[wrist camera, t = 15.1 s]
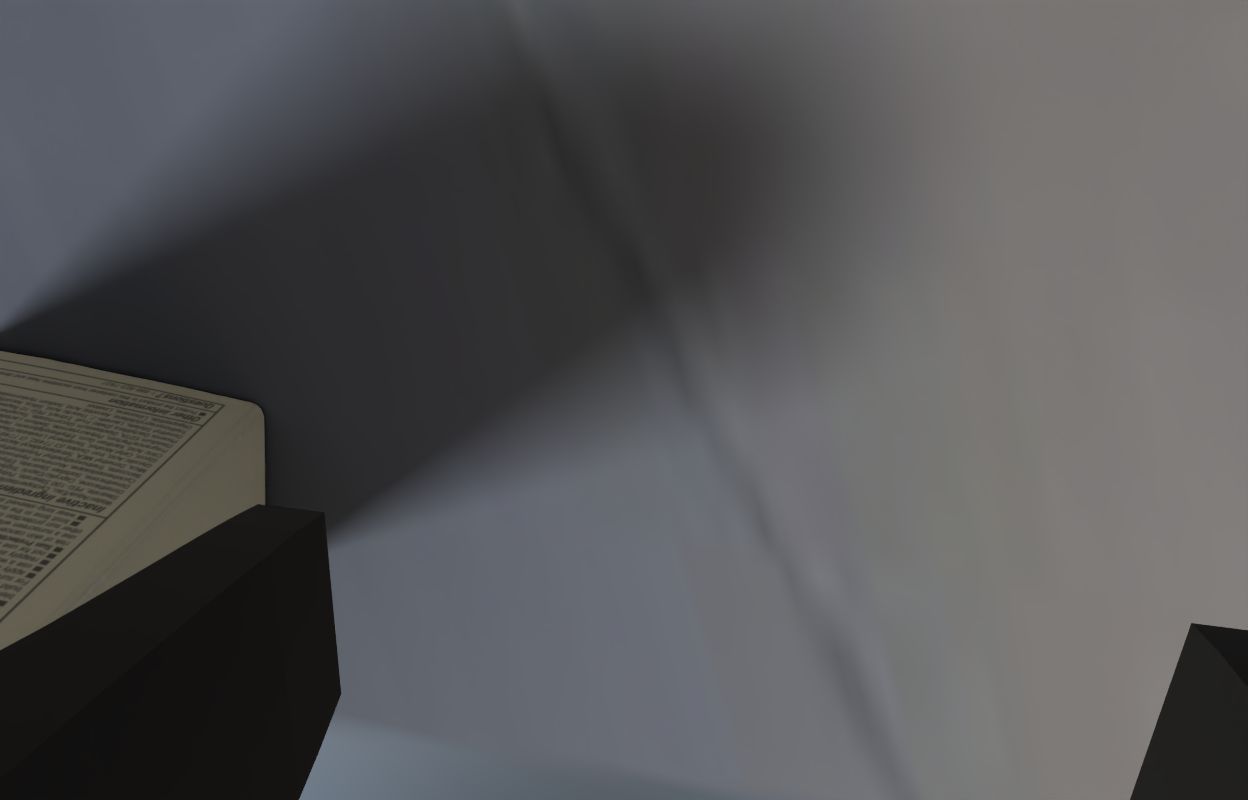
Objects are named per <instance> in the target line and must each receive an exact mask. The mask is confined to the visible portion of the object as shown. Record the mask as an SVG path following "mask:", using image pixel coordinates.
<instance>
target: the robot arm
mask: <svg viewBox="0 0 1248 800" xmlns="http://www.w3.org/2000/svg"><path fill="white" fill-rule="evenodd" d="M340 695H341V687H340V677H339V666H338V655H337V645H336V634H335V623H334V612H333V602H332V591H331V580H330V570H329V559H328V548H327V537H326V527H325V516H324V512H316V511H308V510H300V509H293V508H285V507H277V506H269V505H261V504H257V505H255V506H253V507H251V508H249V509H247V510H245V511H243V512H241V513H239V514H237V515H236V516H234V517H232V518H230V519H228V520H226V521H225V522H223V523H221V524H219V525H217V526H216V527H214V528H212V529H210V530H209V531H207V532H205V533H203V534H202V535H200V536H198V537H197V538H195V539H193V540H191V541H190V542H188V543H186V544H185V545H183V546H181V547H180V548H178V549H176V550H174V551H173V552H171V553H169V554H168V555H166V556H164V557H163V558H161V559H159V560H158V561H156V562H154V563H152V564H151V565H149V566H147V567H146V568H144V569H142V570H141V571H139V572H137V573H136V574H134V575H132V576H130V577H129V578H127V579H125V580H124V581H122V582H120V583H118V584H117V585H115V586H113V587H111V588H110V589H108V590H106V591H105V592H103V593H101V594H99V595H98V596H96V597H94V598H93V599H91V600H89V601H87V602H86V603H84V604H82V605H80V606H79V607H77V608H75V609H74V610H72V611H70V612H68V613H67V614H65V615H63V616H62V617H60V618H58V619H56V620H55V621H53V622H51V623H49V624H48V625H46V626H44V627H42V628H41V629H39V630H37V631H35V632H33V633H31V634H29V635H28V636H26V637H24V638H22V639H20V640H18V641H16V642H14V643H13V644H11V645H9V646H7V647H5V648H3V649H1V650H0V800H299V798H300V796H301V793H302V791H303V788H304V786H305V784H306V781H307V779H308V776H309V774H310V772H311V769H312V767H313V764H314V762H315V760H316V757H317V755H318V752H319V750H320V747H321V745H322V742H323V740H324V737H325V734H326V732H327V729H328V727H329V724H330V721H331V719H332V716H333V714H334V711H335V708H336V706H337V703H338V701H339V698H340ZM1130 800H1248V630H1241V629H1233V628H1225V627H1217V626H1209V625H1201V624H1194V623H1191V626H1190V629H1189V632H1188V635H1187V638H1186V640H1185V643H1184V646H1183V649H1182V652H1181V655H1180V658H1179V661H1178V663H1177V666H1176V669H1175V672H1174V675H1173V678H1172V681H1171V684H1170V686H1169V689H1168V692H1167V695H1166V698H1165V701H1164V704H1163V707H1162V709H1161V712H1160V715H1159V718H1158V721H1157V724H1156V727H1155V730H1154V732H1153V735H1152V738H1151V741H1150V744H1149V747H1148V750H1147V753H1146V756H1145V758H1144V761H1143V764H1142V767H1141V770H1140V773H1139V776H1138V779H1137V781H1136V784H1135V787H1134V790H1133V793H1132V796H1131V799H1130Z"/></svg>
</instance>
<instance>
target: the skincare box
mask: <svg viewBox="0 0 1248 800" xmlns="http://www.w3.org/2000/svg"><path fill="white" fill-rule="evenodd" d="M257 504H261V505H265V435H264V415H263V412H262V410H261V408H260V407H259V406H258V405H256V404H254V403H251V402H247V401H241V400H237V399H233V398H229V397H225V396H220V395H215V394H211V393H207V392H203V391H198V390H194V389H189V388H185V387H180V386H175V385H170V384H165V383H161V382H157V381H152V380H147V379H142V378H136V377H131V376H126V375H121V374H116V373H111V372H107V371H102V370H98V369H93V368H88V367H84V366H79V365H75V364H69V363H64V362H59V361H55V360H50V359H45V358H39V357H33V356H27V355H20V354H15V353H9V352H4V351H0V650H1V649H3V648H5V647H7V646H9V645H11V644H13V643H14V642H16V641H18V640H20V639H22V638H24V637H26V636H28V635H29V634H31V633H33V632H35V631H37V630H39V629H41V628H42V627H44V626H46V625H48V624H49V623H51V622H53V621H55V620H56V619H58V618H60V617H62V616H63V615H65V614H67V613H68V612H70V611H72V610H74V609H75V608H77V607H79V606H80V605H82V604H84V603H86V602H87V601H89V600H91V599H93V598H94V597H96V596H98V595H99V594H101V593H103V592H105V591H106V590H108V589H110V588H111V587H113V586H115V585H117V584H118V583H120V582H122V581H124V580H125V579H127V578H129V577H130V576H132V575H134V574H136V573H137V572H139V571H141V570H142V569H144V568H146V567H147V566H149V565H151V564H152V563H154V562H156V561H158V560H159V559H161V558H163V557H164V556H166V555H168V554H169V553H171V552H173V551H174V550H176V549H178V548H180V547H181V546H183V545H185V544H186V543H188V542H190V541H191V540H193V539H195V538H197V537H198V536H200V535H202V534H203V533H205V532H207V531H209V530H210V529H212V528H214V527H216V526H217V525H219V524H221V523H223V522H225V521H226V520H228V519H230V518H232V517H234V516H236V515H237V514H239V513H241V512H243V511H245V510H247V509H249V508H251V507H253V506H255V505H257Z"/></svg>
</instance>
